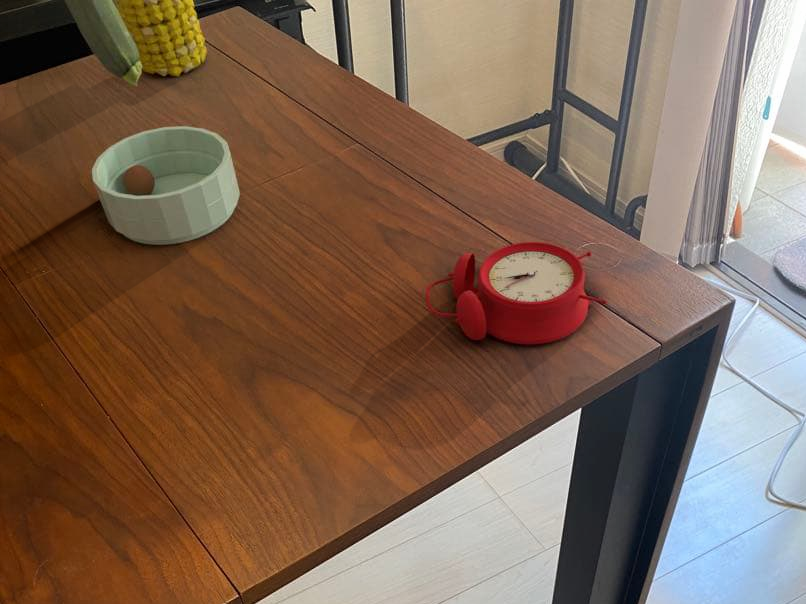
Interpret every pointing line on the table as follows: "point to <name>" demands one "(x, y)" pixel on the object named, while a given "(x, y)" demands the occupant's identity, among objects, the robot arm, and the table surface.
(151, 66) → the food
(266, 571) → the table surface
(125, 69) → the vegetable
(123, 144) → the bowl
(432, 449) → the table surface
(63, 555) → the table surface
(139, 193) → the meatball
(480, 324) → the alarm clock
